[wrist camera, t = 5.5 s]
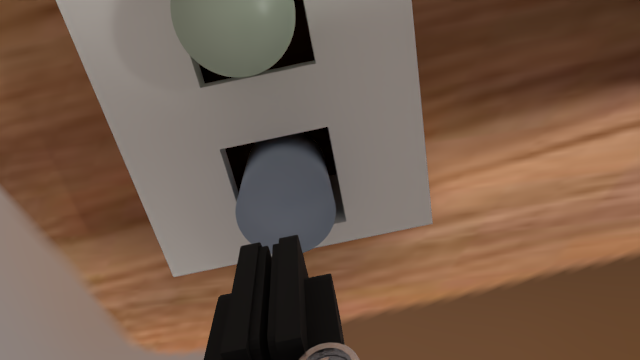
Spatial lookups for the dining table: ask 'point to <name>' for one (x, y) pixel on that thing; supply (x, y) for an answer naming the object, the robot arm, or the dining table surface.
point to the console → (259, 119)
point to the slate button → (286, 193)
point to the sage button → (234, 33)
